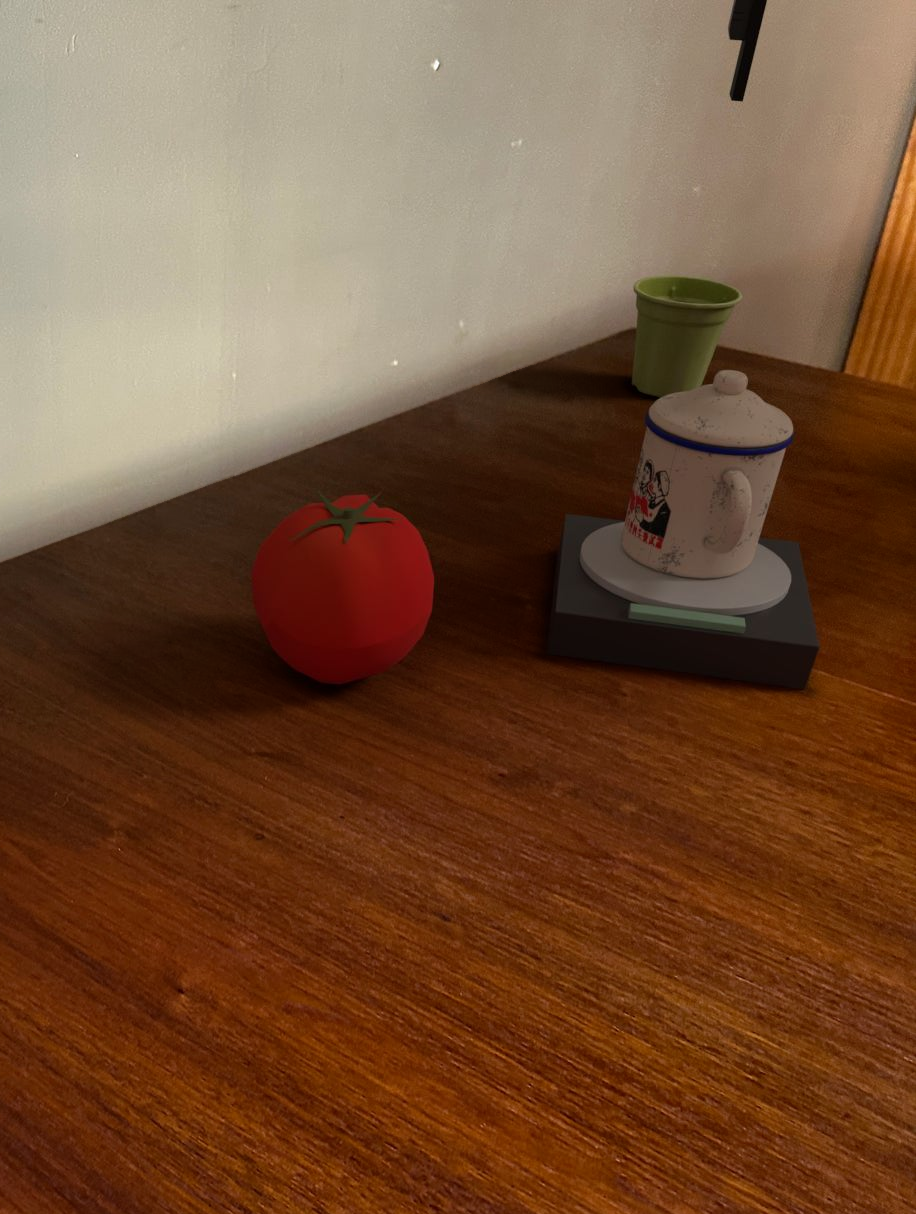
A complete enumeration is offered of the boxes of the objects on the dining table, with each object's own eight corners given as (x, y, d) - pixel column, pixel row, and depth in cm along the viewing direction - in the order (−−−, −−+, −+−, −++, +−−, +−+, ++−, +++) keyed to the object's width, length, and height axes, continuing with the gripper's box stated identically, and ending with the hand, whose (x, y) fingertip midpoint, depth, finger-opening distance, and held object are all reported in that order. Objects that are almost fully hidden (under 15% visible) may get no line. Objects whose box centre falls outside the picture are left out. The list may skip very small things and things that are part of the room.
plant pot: (596, 391, 131) (618, 290, 125) (634, 365, 137) (656, 268, 131) (695, 414, 127) (721, 311, 121) (729, 386, 133) (756, 287, 127)
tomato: (432, 628, 93) (455, 476, 87) (411, 724, 84) (435, 561, 77) (266, 606, 95) (276, 455, 89) (226, 698, 86) (235, 536, 79)
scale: (785, 582, 101) (801, 533, 98) (805, 690, 89) (823, 637, 86) (557, 553, 103) (567, 505, 101) (546, 654, 91) (557, 602, 89)
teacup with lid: (602, 523, 99) (641, 348, 91) (731, 526, 99) (781, 352, 91) (645, 601, 89) (693, 414, 82) (788, 604, 90) (848, 418, 82)
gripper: (739, -325, 82) (652, 101, 95) (1208, -313, 78) (1047, 129, 92) (732, -318, 87) (650, 83, 101) (1169, -307, 83) (1023, 109, 97)
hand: (839, 106), depth 96 cm, fingers open, 13 cm apart
